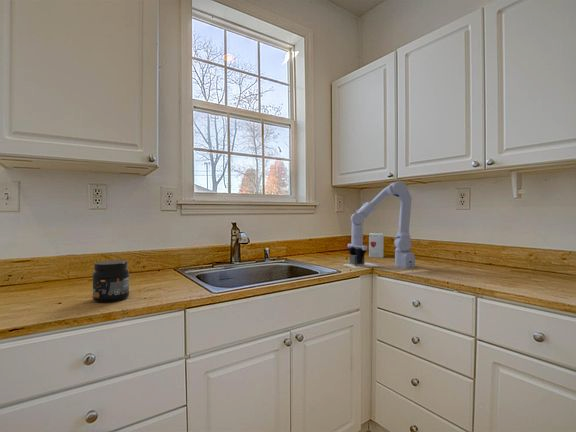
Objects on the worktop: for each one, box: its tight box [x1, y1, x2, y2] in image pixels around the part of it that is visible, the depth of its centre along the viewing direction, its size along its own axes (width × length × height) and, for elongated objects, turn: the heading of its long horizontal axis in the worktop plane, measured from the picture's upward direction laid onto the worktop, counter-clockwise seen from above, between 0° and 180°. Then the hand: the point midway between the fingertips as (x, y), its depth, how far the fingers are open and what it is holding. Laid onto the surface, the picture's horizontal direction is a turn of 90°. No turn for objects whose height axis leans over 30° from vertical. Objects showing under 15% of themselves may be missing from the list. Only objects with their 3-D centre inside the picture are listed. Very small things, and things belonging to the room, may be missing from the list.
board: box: [341, 262, 381, 269], centre depth 161 cm, size 11×16×1 cm
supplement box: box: [368, 232, 385, 259], centre depth 202 cm, size 9×9×15 cm
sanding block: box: [349, 255, 365, 266], centre depth 161 cm, size 4×6×5 cm, turn 112°
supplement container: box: [91, 259, 130, 304], centre depth 102 cm, size 10×10×12 cm
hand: (356, 262), depth 161 cm, fingers closed on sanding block, 4 cm apart
